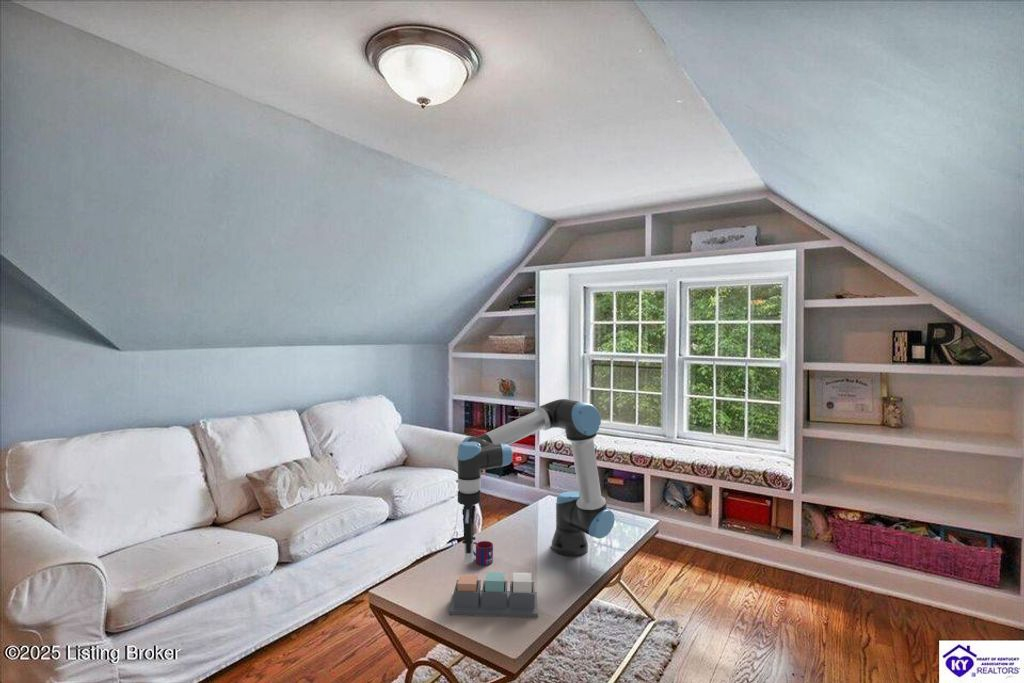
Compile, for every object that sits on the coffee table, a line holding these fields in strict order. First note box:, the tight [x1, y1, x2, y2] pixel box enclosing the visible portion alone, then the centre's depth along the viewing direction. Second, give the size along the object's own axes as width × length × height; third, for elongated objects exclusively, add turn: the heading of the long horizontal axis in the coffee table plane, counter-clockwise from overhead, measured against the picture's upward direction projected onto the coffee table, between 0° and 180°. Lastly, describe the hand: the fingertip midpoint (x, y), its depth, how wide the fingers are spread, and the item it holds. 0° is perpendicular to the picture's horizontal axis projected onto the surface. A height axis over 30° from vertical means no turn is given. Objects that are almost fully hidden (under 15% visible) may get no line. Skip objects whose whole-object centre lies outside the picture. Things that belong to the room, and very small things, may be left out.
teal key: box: [484, 571, 505, 592], centre depth 158 cm, size 6×6×5 cm
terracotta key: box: [457, 574, 479, 592], centre depth 158 cm, size 6×6×5 cm
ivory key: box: [512, 571, 533, 593], centre depth 158 cm, size 6×6×5 cm
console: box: [448, 579, 539, 619], centre depth 158 cm, size 28×13×6 cm, turn 89°
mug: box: [473, 540, 494, 567], centre depth 189 cm, size 7×10×7 cm
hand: (468, 561), depth 158 cm, fingers closed
